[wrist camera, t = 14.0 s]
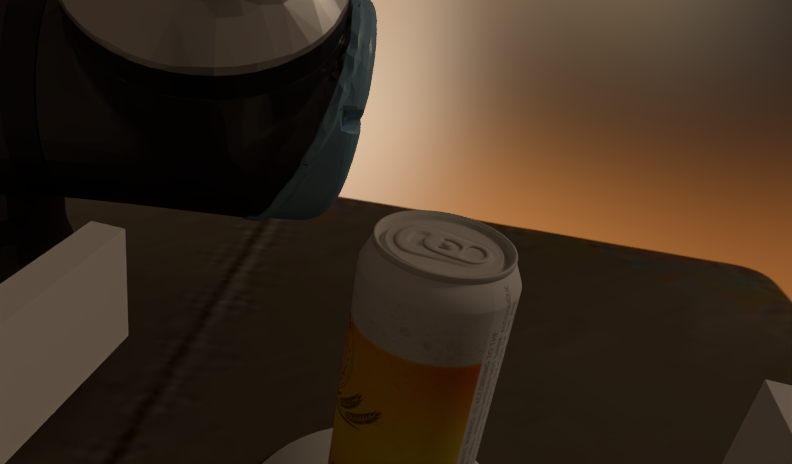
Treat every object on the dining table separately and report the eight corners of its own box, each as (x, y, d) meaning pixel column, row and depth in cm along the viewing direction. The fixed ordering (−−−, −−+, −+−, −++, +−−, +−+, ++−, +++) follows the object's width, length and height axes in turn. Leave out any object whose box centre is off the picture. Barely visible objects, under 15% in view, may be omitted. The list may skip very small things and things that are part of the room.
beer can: (353, 464, 34) (398, 192, 28) (466, 512, 32) (543, 235, 26) (293, 555, 29) (332, 246, 22) (425, 618, 27) (508, 304, 21)
